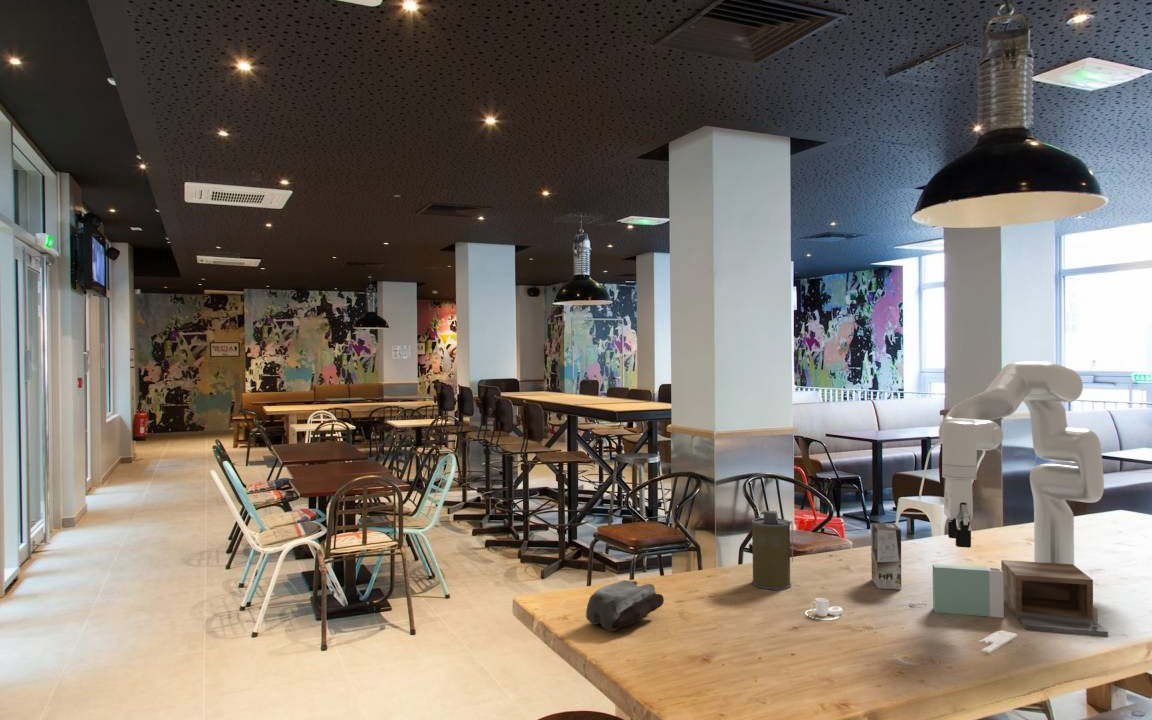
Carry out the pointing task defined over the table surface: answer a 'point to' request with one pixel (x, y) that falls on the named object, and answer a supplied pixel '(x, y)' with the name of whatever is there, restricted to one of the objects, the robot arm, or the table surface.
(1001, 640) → the white plastic blade
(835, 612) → the teacup and saucer
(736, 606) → the table surface
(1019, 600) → the cabinet
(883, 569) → the coffee box
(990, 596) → the green and grey box
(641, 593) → the rock
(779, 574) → the canister
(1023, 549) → the table surface
